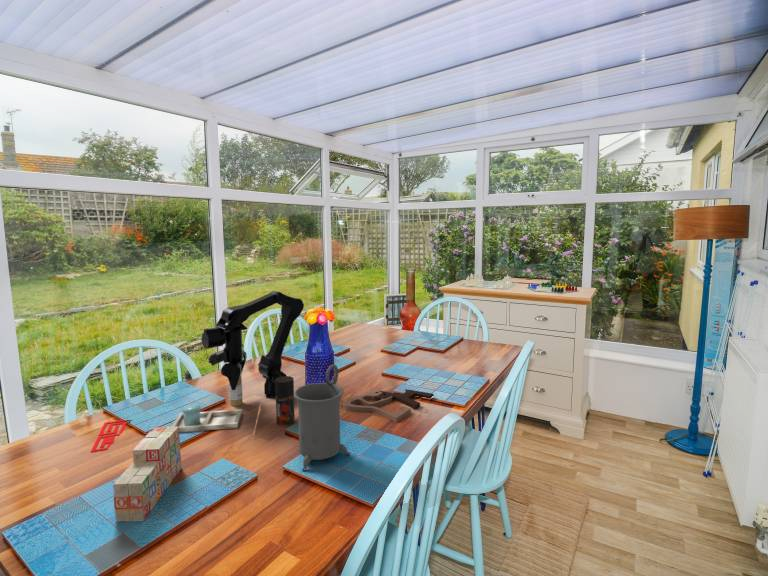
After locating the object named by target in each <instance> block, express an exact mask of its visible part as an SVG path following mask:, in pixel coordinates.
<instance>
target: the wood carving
mask: <svg viewBox="0 0 768 576" xmlns="http://www.w3.org/2000/svg"><path fill="white" fill-rule="evenodd" d="M405 391H406V392H405ZM405 391H404V393H396V392H390V391H384V390H376V389H375V390H374V389H370V390H368V391H366V392H365V393H364V394H362V395H358V396H354V397H350V398H347V399H345V400H344V401H343V402H342V406H343V407H342V408H343V409H345V410H346V411H349V412H350V411H351V412H358V413H359V412H360V413H364V412H365V413H366V412H368V413H369V412H370V413H375V414H377V415H380V416H383V417H385V418H387V419H389V420H391V421H392V422H395V423H398V422H399V421H401V420H403V419H404V418H406V417H408V416H409V415H411V413H412V409H413V410H415V411H416V410H418V409H420V408H421V402H419V401H417V400H415V398H414V397H415V396H419V397H426V398H431V397H432V396H434V395H435V394H434V393H432V392H425V391H418V390H413V389H406V388H405ZM434 397H435V396H434ZM371 401H373V402H371ZM393 401H395V402H398V403H401V405H402V404H403V405H404V406H407V407H408V408H407V407H406V408H404V409H400V410H396V411H394V412H392V411H389V410H385V409H382V408H380V407H381V406H383V405H387V404H389V403H391V402H393ZM359 404H360V405H359Z"/></svg>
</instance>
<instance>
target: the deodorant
mask: <svg viewBox="0 0 768 576" xmlns="http://www.w3.org/2000/svg"><path fill="white" fill-rule="evenodd" d="M294 382H295V380H294V377H293V376H290V375H287V376H282V377H278V378H276V379H275V389H276V397H275V414H276V419H275V420H276V424H277V426H280V427H288V426H292V425H294V424H295V421H296V420H295V415H296V414H295V397H294V392H295V383H294Z"/></svg>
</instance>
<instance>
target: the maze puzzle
mask: <svg viewBox="0 0 768 576" xmlns="http://www.w3.org/2000/svg"><path fill="white" fill-rule="evenodd" d="M123 420H124V419H120V420H113V421H107V422H106V421H105V422H103V425H102V427H101V429H100V431H99V433H98V436H97V437H96V440H95V442H94V444H93V445H92V448H91V450H90V453H96V452H101V451H106V450H109V449H110V447H112V445H113V444H114V443H115V437H117V438H119V437H120V435H122V433H123V432H124V431H125V430H126V426H127V424H128V423H127V421H125V422H124V421H123ZM108 425H109V426H108ZM120 425H121V427H120ZM107 426H108V428H107ZM113 427H114V429H113ZM119 427H120V431H119V433H118V430H119ZM106 428H107V430H106ZM112 429H113V431H112ZM105 430H106V432H105ZM101 439H102V441H101ZM100 441H101V444H100V446H99V443H100ZM105 445H107V446H106V447H105ZM98 447H99V448H98Z"/></svg>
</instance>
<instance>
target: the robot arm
mask: <svg viewBox="0 0 768 576" xmlns="http://www.w3.org/2000/svg"><path fill="white" fill-rule="evenodd" d="M303 301H304V300H302V299H301V298H297V297H292V296H289V295H287V294H285V293H283V292H281V291H276V290H273V291H271V292H269V293H267V294H264V295H263V296H260V297H257V298H256V299H254V300H251V301H249V302H247V303H244V304H239V305H233V306H229V307H225V309H223V310H222V313H221V315H220V316H221V317H220V318H219V320H218V321H217V323H216V324H215V327H211V328H203V333H202V334H201V337H200V338H201V339H200V340H201V344H202V347H203V348H204V349H205V350H208V349H213V348H218V347H223V346H224V345H225V346H224V348H223V349H221V350H218V351H216V352H214V353H211V354H210V355H209V356H208V359H207V360H208V363H209V364H210V365H211V366H215V365H217V364H219V363H222V362H223V363H224V364H223V365H222V367H221V369H220V374H221V376H223V377H226V378H227V379H228V384H229V383H230V386H231V389H232V390H235V389H236V386H237V383H238V380H239V377H240V375H241V372H242V373H243V370H244V368H245V364H246V362H247V358H248V355H247V354H248V353H247V352H245V350H243V348H244V344H243V333H242V331H246V330H248V327H247V325H246V326H245V324H244V322H246V321H248V319H249V317H251V316H252V315H254V314H256V313H258V312H261V311H262V310H265V309H267V308H269V307H271V306H273V305H275V304H277V305H280V306H281V307H280V308H281V309H280V313H281V318H280V321H279V324H278V327H277V330H276V332H275V334H274V337H273V340H272V343H271V346H270V348H269V351H268V352H267V354H266V355H263V354H262V355H261V356H260V360H259V362H258V364H257V366H258V368H257V370H258V371H259V374H260V375H262V377H263V379H265V381H264V387H263V388H264V395H265V398H266V399H267V398H268V399H269V398H276V389H275V379H276V378H278V377H282V376H288V375H287V374H286V373H284V371H282V365H283V364H282V354H283V352H284V349H285V347H286V344H287V341H288V338H289V336H290V334H291V329H292V327H293V324H294V322H295V321H296V320H297V319H298V318H299V317H300V316H301V314H302V312H303V310H304V307H305V303H304V302H303Z"/></svg>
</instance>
